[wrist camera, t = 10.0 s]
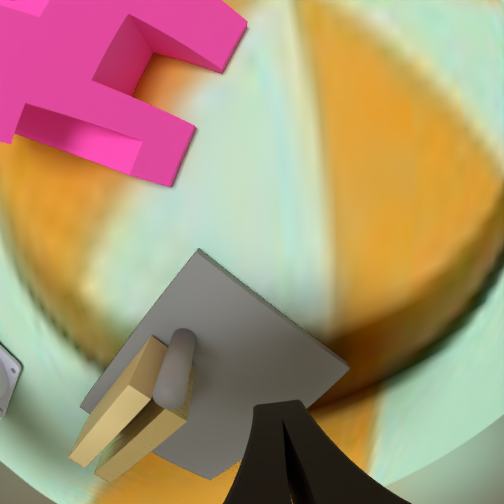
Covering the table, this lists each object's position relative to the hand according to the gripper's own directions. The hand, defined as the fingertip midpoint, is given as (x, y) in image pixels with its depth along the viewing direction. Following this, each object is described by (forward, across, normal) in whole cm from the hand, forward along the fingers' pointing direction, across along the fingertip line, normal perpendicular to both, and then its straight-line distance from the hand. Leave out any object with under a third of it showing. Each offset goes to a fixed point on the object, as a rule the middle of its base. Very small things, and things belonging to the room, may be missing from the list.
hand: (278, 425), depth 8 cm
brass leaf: (+9, +7, +6) cm, 13 cm away
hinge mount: (+10, +4, +6) cm, 12 cm away
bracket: (+10, +7, -14) cm, 19 cm away
